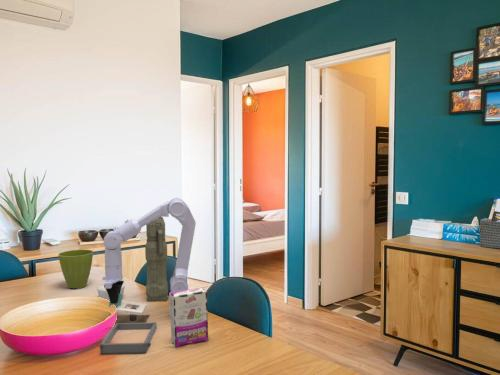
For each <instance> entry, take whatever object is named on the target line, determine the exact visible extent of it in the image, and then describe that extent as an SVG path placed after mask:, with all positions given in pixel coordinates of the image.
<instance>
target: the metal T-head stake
mask: <svg viewBox="0 0 500 375" xmlns="http://www.w3.org/2000/svg"><path fill="white" fill-rule="evenodd" d="M129 309H136V310H137V308H136V305H133V306H132V307H130V308H129ZM129 315H130V321H136V320H137V315H134V314H129Z"/></svg>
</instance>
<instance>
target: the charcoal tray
mask: <svg viewBox="0 0 500 375" xmlns="http://www.w3.org/2000/svg"><path fill="white" fill-rule="evenodd" d="M128 330H129V331H131V330H132V331H134V330H141V331H142V330H148V331H149V332H148V334H147V335H146V337H145V340H144V342H124V343H123V342H121V343H120V342H119V343H118V342H114V343H111V341H112V340H113V338H114V337H115V335H116V334H117V332H118V331H128ZM156 330H157V321H156V322H155V321H153V322H146V323H116V324H115V326H114V327H113V328H111V330H109V332H108V334H107V335H106V336H105V338H104V339H103V341H102V342H101V343H100V345H99V346H100V347H99V348H100V349H99V351H100V355H139V354H140V355H141V354H142V355H143V354H144V355H145V354H147V352H148V351H149V348H150V347H151V341H152V339H153V336H154V335H155V333H156Z"/></svg>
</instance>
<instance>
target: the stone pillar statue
mask: <svg viewBox="0 0 500 375" xmlns="http://www.w3.org/2000/svg"><path fill="white" fill-rule="evenodd" d="M145 226H146V228H145V231H146V237H147V238H146V243H145V246H144V248H145V251H144V253H145V256H144V257H145V260H146V281H147V282H146V285H145V296H146V302H147V303H152V302H153V303H154V302H155V303H156V302H167V301H169V283H168V280H167V259H168V245H167V242H166V222H165V219H164V217H159V218H157V219H155V220H154V221H152V222H150V223H148V224H147V225H145Z"/></svg>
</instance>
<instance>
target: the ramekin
mask: <svg viewBox="0 0 500 375" xmlns="http://www.w3.org/2000/svg"><path fill="white" fill-rule="evenodd" d="M104 285H105V283H104V284H101V285H99V286H97V288H96V291H97V294H98V298H99V297H101V298H104V299H107V300H109V301H110V299H109V295H108V293H107V291H106V289H105V288H104ZM125 286H126V285H125V284H123V285H122V287H121V291H120V294H123V295H122V298H123V297H124V292H125V288H126V287H125Z"/></svg>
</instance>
